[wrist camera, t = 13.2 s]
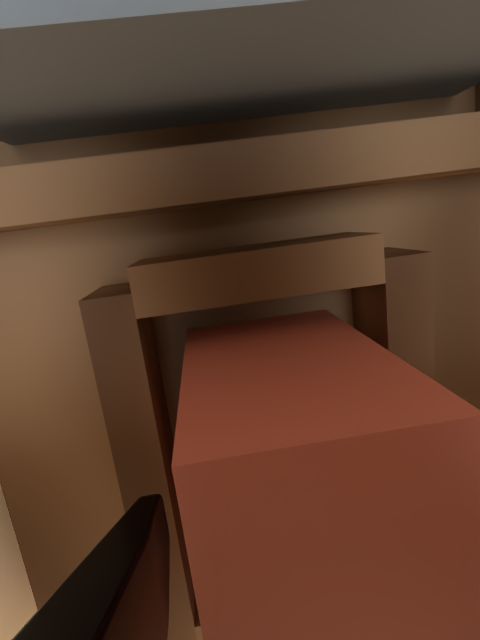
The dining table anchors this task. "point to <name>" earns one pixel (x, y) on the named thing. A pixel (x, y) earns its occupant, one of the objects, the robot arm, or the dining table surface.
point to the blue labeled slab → (221, 60)
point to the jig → (211, 290)
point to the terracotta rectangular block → (324, 487)
